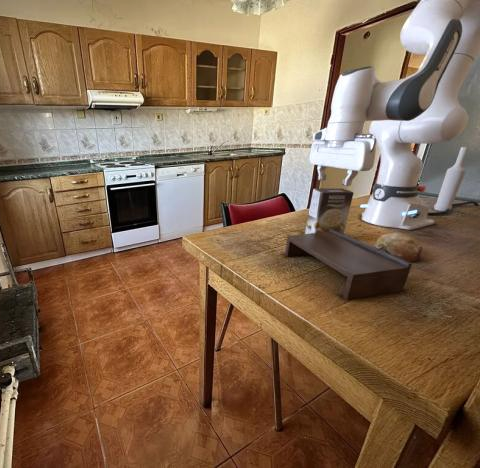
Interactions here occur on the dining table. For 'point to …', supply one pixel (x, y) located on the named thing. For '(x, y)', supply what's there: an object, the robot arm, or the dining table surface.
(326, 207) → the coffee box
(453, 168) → the bottle
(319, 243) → the shelf
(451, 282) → the dining table surface
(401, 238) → the bread roll
